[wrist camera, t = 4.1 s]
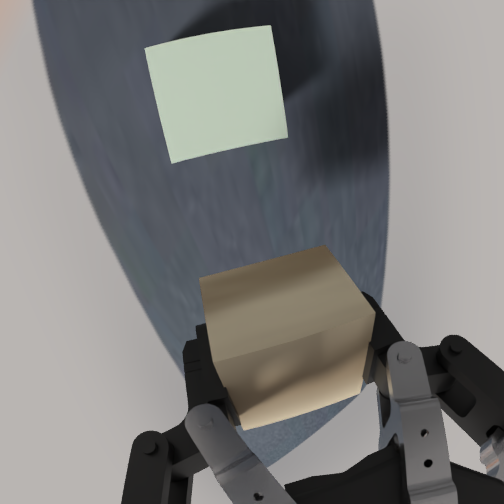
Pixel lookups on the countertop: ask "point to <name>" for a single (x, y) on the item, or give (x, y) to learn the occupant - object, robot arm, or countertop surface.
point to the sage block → (217, 91)
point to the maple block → (287, 334)
